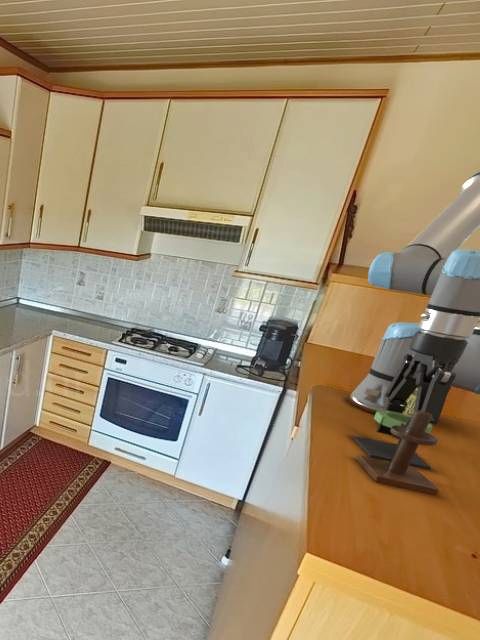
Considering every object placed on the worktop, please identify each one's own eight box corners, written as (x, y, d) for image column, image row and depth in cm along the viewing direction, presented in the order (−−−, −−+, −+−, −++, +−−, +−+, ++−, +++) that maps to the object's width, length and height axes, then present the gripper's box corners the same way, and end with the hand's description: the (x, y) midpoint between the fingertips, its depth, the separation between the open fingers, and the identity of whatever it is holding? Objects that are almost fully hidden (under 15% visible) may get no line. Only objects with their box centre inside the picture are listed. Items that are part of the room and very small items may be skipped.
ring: (368, 414, 103) (371, 407, 103) (415, 423, 101) (418, 416, 100) (385, 428, 96) (388, 421, 95) (437, 438, 93) (440, 431, 93)
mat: (352, 437, 107) (352, 435, 106) (406, 448, 104) (407, 446, 103) (370, 456, 98) (371, 454, 97) (430, 469, 95) (431, 467, 95)
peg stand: (356, 460, 95) (382, 399, 91) (411, 472, 93) (441, 409, 88) (375, 481, 87) (405, 416, 83) (436, 495, 85) (470, 428, 80)
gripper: (393, 321, 102) (353, 419, 110) (448, 343, 84) (395, 459, 91) (437, 327, 100) (392, 426, 108) (503, 351, 81) (443, 469, 89)
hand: (393, 441), depth 100 cm, fingers closed on ring, 8 cm apart
